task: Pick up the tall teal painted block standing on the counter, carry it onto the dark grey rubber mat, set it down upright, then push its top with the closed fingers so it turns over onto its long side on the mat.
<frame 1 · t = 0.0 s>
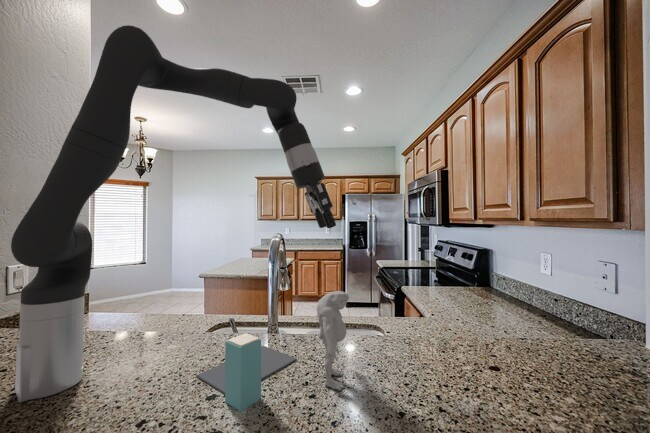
hand: (327, 227, 69), 31 cm above the countertop, tool tilted 20°, fingers open, 8 cm apart
rubber mat: (249, 368, 62), on the countertop
teal block: (243, 400, 50), on the countertop
figurine: (333, 381, 56), on the countertop
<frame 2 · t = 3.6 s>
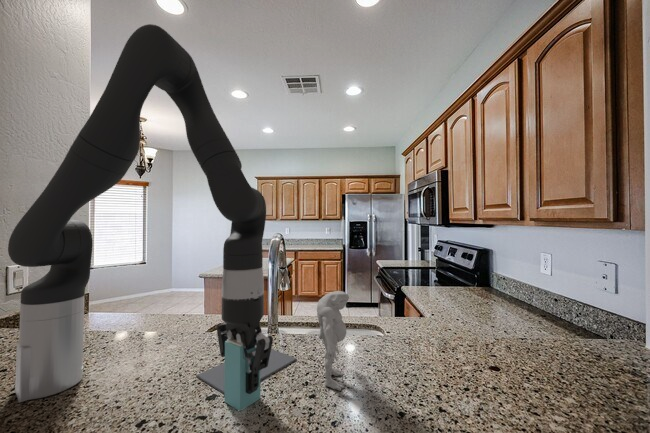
hand: (243, 386, 50), 2 cm above the countertop, tool pointing down, fingers closed on teal block, 4 cm apart
teal block: (242, 400, 50), on the countertop, touching gripper
everything else where it was.
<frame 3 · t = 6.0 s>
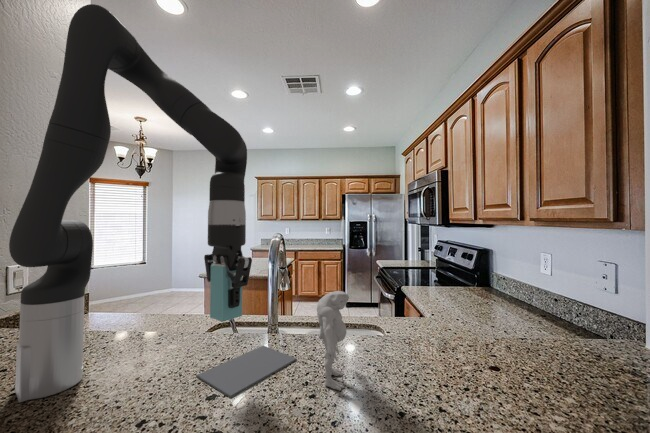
hand: (226, 304, 57), 15 cm above the countertop, tool pointing down, fingers closed on teal block, 4 cm apart
teal block: (226, 316, 57), point 13 cm above the countertop, touching gripper
everything else where it was.
when the fingers open (3 cm above the countertop, at t = 8.4 s): teal block stays where it is, resting on rubber mat.
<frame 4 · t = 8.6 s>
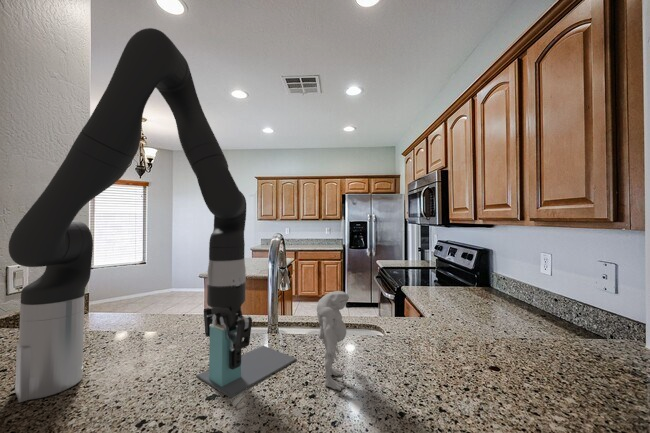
hand: (225, 362, 57), 3 cm above the countertop, tool pointing down, fingers open, 5 cm apart
teal block: (225, 378, 57), resting on rubber mat
everything else where it was.
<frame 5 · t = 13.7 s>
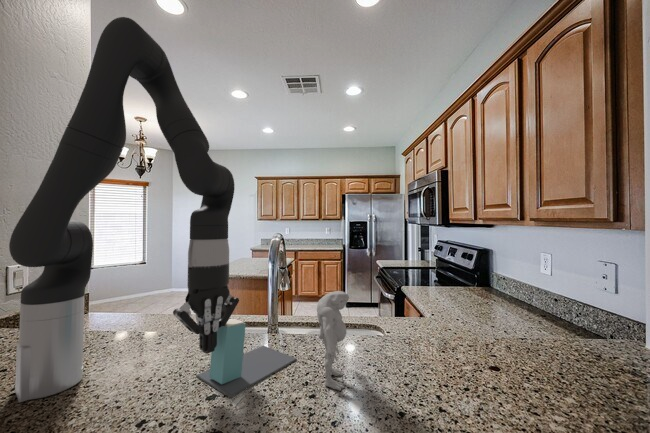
hand: (208, 351, 54), 7 cm above the countertop, tool pointing down, fingers closed
teal block: (225, 376, 57), point 1 cm above the countertop, tilted 5°, touching gripper, rubber mat
everything else where it was.
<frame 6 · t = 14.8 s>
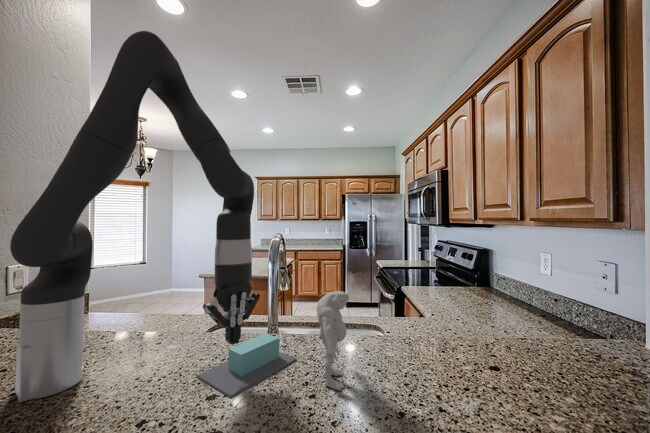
hand: (233, 342, 58), 7 cm above the countertop, tool pointing down, fingers closed
teal block: (234, 362, 59), point 3 cm above the countertop, tilted 90°, touching rubber mat
everything else where it was.
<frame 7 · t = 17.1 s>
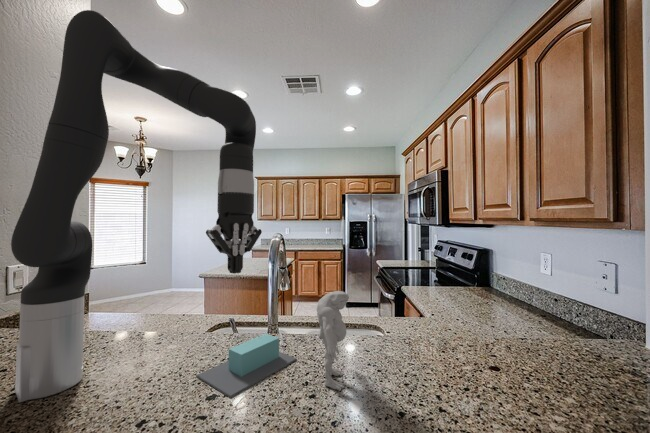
hand: (235, 272, 59), 22 cm above the countertop, tool pointing down, fingers closed
nothing on the countertop moved.
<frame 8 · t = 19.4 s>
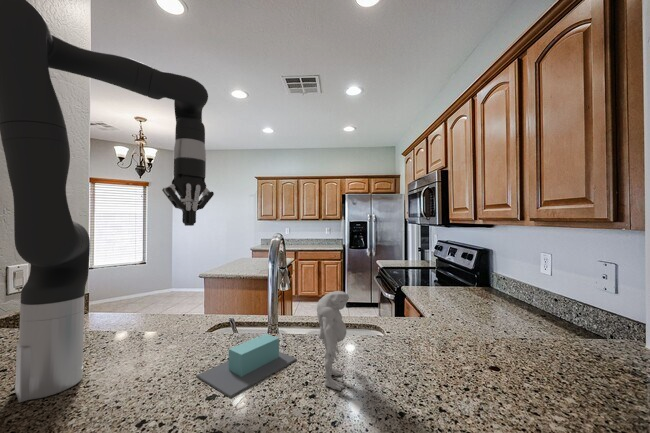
hand: (189, 225, 72), 32 cm above the countertop, tool pointing down, fingers closed
nothing on the countertop moved.
at the end: teal block tilted 90°; teal block inside the target area (6.8 cm from its centre), point 2.6 cm above the countertop; the gripper is holding nothing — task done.
